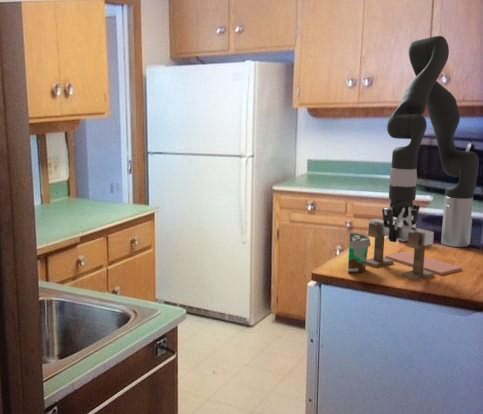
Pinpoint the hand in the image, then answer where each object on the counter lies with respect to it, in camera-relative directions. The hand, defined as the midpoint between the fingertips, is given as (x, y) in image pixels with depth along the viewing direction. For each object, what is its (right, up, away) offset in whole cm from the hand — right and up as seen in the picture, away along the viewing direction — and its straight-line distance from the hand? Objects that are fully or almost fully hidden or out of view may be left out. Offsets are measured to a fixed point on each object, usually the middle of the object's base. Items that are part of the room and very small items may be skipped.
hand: (399, 240), depth 161 cm
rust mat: (+9, -8, +8) cm, 15 cm away
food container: (-12, -9, +1) cm, 15 cm away
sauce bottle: (+12, -3, +37) cm, 39 cm away
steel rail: (0, +1, 0) cm, 1 cm away
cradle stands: (0, -9, +2) cm, 9 cm away
